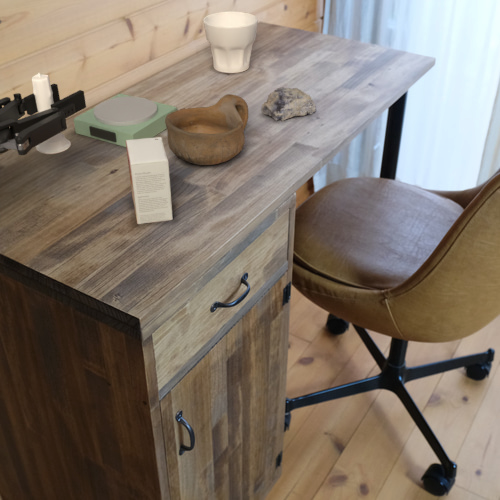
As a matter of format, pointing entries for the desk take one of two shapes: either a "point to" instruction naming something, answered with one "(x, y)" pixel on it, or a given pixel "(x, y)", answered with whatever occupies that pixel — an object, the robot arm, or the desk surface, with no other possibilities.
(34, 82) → the candle
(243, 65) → the cup
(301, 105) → the mineral specimen
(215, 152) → the bowl
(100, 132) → the scale
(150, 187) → the small box
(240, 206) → the desk surface
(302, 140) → the desk surface
